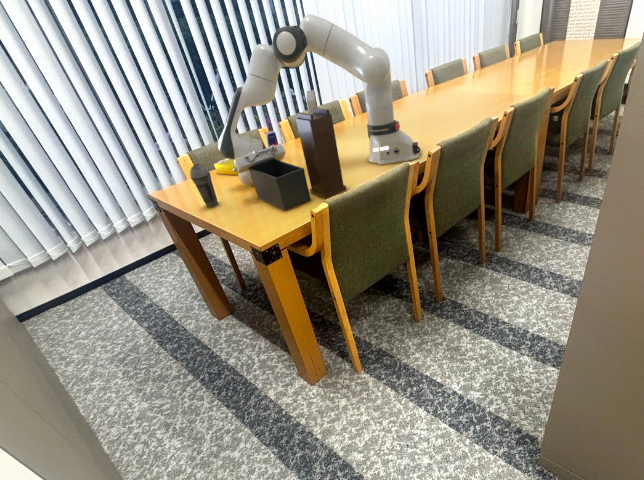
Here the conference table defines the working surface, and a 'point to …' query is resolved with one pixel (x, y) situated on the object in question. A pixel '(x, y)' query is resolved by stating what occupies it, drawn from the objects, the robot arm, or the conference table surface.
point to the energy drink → (271, 138)
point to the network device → (311, 101)
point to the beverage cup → (203, 184)
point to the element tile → (225, 167)
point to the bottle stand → (320, 152)
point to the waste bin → (280, 184)
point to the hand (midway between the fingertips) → (264, 149)
